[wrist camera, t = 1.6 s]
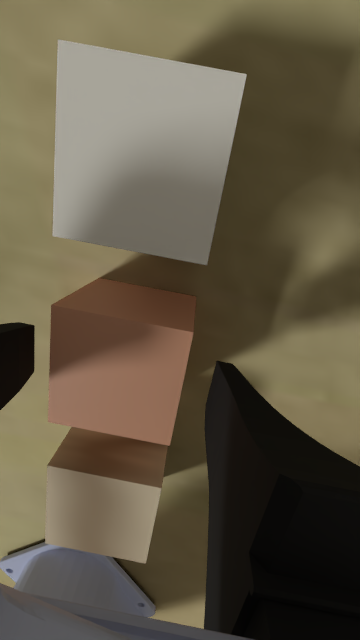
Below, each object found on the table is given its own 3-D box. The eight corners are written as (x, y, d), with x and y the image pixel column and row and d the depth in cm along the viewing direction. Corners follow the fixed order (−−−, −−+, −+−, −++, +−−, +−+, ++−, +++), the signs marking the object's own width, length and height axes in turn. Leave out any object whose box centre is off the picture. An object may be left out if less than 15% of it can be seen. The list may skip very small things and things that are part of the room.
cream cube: (229, 130, 12) (246, 74, 7) (205, 249, 13) (206, 265, 9) (113, 108, 12) (58, 39, 7) (103, 230, 13) (52, 235, 9)
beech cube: (172, 414, 16) (161, 488, 12) (160, 477, 18) (145, 563, 13) (89, 398, 16) (47, 465, 12) (84, 462, 18) (45, 543, 14)
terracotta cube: (196, 296, 14) (193, 332, 10) (179, 380, 16) (169, 446, 11) (99, 277, 14) (51, 304, 10) (92, 363, 16) (48, 422, 11)
